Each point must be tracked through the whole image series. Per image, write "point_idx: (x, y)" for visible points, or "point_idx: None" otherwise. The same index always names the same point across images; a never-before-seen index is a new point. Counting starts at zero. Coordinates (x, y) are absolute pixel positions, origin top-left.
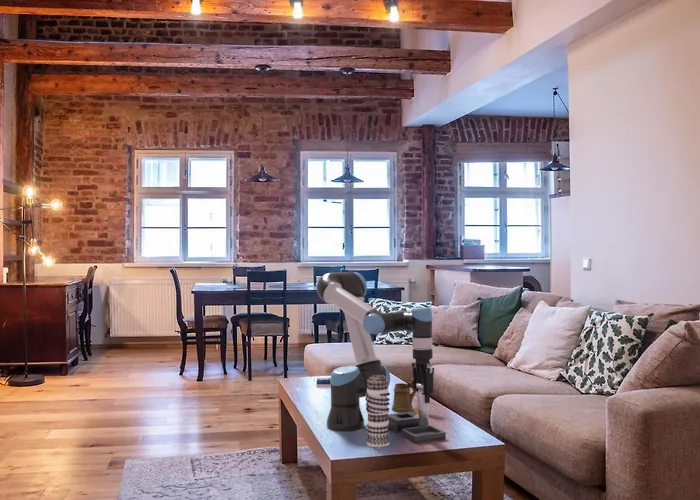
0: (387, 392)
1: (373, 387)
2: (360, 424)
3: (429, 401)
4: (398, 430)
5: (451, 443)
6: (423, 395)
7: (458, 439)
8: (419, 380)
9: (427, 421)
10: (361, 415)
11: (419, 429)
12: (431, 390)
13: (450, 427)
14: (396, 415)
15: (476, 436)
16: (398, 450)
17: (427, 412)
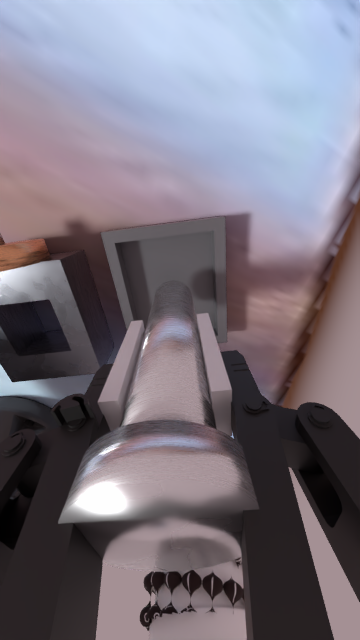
0: (244, 612)
1: None
2: (48, 419)
3: (243, 358)
4: (110, 346)
5: (276, 218)
6: (229, 426)
7: (245, 160)
8: (85, 618)
9: (191, 299)
10: (11, 431)
11: (127, 289)
12: (339, 444)
13: (51, 96)
14: (16, 350)
15: (242, 15)
16: (256, 382)
17: (193, 316)
